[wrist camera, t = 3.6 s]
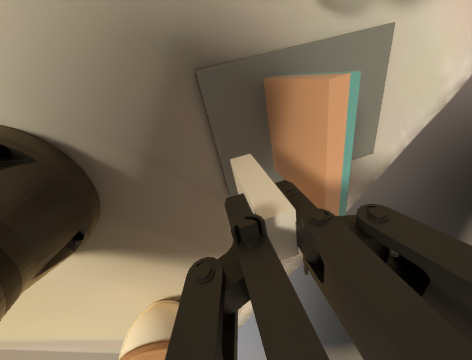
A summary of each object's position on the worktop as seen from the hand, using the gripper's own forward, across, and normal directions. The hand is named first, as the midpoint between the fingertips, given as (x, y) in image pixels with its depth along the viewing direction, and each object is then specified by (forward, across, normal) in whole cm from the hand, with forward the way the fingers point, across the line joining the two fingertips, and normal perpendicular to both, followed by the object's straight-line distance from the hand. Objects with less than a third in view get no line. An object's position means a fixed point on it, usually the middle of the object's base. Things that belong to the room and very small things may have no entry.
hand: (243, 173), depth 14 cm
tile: (+8, +6, 0) cm, 10 cm away
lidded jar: (+9, -17, -26) cm, 32 cm away
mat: (+8, +9, 0) cm, 12 cm away
